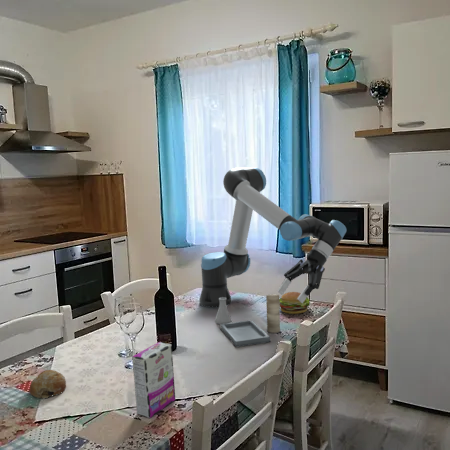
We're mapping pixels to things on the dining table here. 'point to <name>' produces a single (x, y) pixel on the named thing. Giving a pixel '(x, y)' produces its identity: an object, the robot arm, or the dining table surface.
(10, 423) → the dining table surface
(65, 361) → the dining table surface
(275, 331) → the birch peg
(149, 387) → the candy bar box
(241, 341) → the tray
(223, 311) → the flask
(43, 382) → the bread roll
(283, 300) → the food
